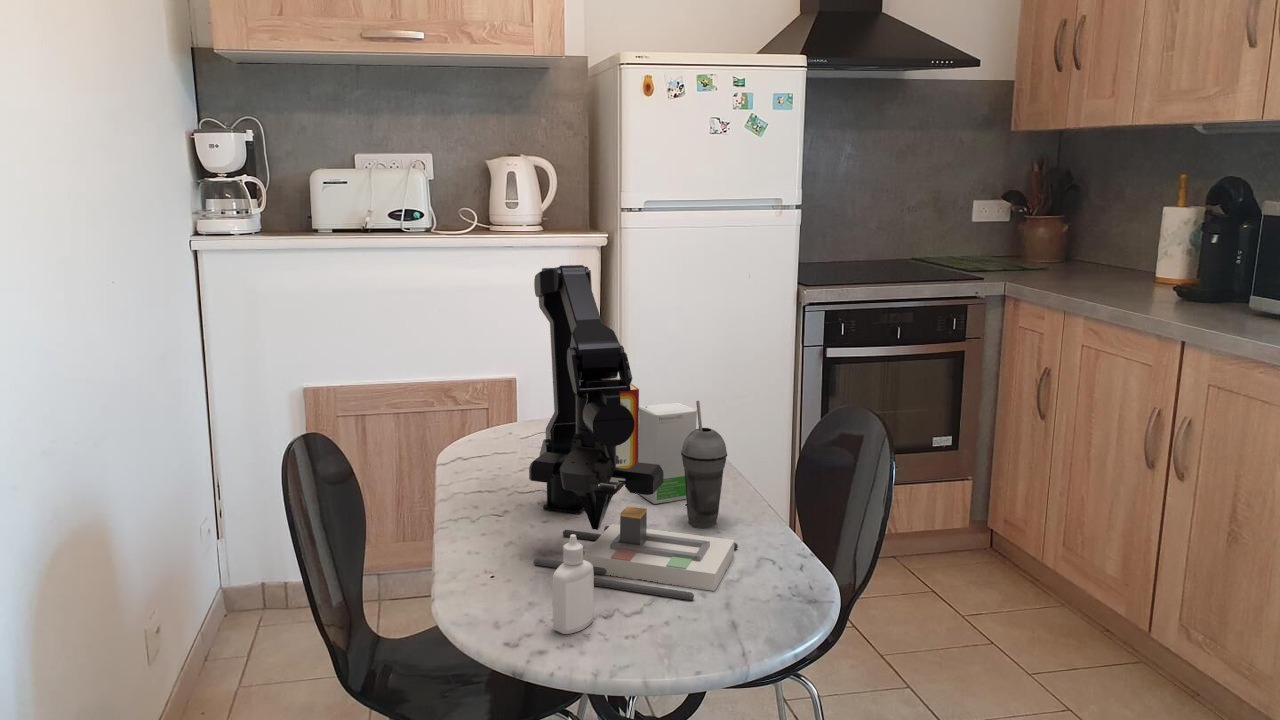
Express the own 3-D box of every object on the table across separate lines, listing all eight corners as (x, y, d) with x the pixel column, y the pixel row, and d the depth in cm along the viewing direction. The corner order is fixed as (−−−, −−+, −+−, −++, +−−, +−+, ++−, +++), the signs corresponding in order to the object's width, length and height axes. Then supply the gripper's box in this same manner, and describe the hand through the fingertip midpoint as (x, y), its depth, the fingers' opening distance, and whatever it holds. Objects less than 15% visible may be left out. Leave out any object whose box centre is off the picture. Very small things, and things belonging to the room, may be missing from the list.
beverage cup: (722, 533, 151) (726, 408, 147) (676, 529, 152) (678, 405, 148) (727, 516, 158) (731, 396, 154) (683, 512, 159) (685, 394, 155)
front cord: (522, 575, 136) (522, 569, 135) (535, 562, 140) (535, 556, 140) (692, 601, 128) (693, 594, 128) (701, 587, 133) (701, 580, 132)
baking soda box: (626, 460, 185) (627, 378, 182) (638, 471, 179) (638, 387, 176) (578, 465, 182) (578, 382, 179) (588, 476, 176) (588, 390, 173)
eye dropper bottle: (600, 629, 121) (600, 539, 118) (556, 637, 119) (555, 545, 116) (589, 614, 125) (589, 526, 122) (547, 621, 123) (546, 531, 120)
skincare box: (653, 505, 162) (654, 415, 159) (635, 493, 168) (635, 405, 165) (696, 497, 166) (698, 409, 163) (677, 485, 172) (679, 400, 169)
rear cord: (561, 536, 149) (561, 530, 149) (572, 526, 153) (572, 520, 153) (731, 560, 141) (731, 553, 141) (738, 548, 146) (738, 542, 145)
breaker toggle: (620, 545, 140) (620, 513, 139) (626, 537, 142) (626, 506, 141) (640, 548, 139) (640, 516, 138) (646, 540, 142) (646, 508, 141)
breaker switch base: (583, 571, 137) (582, 550, 137) (611, 539, 148) (611, 519, 148) (714, 591, 132) (715, 569, 131) (733, 556, 143) (734, 535, 142)
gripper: (511, 434, 134) (513, 541, 137) (641, 448, 128) (640, 559, 132) (544, 414, 144) (545, 513, 148) (665, 426, 139) (663, 529, 142)
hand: (596, 528), depth 142 cm, fingers closed
